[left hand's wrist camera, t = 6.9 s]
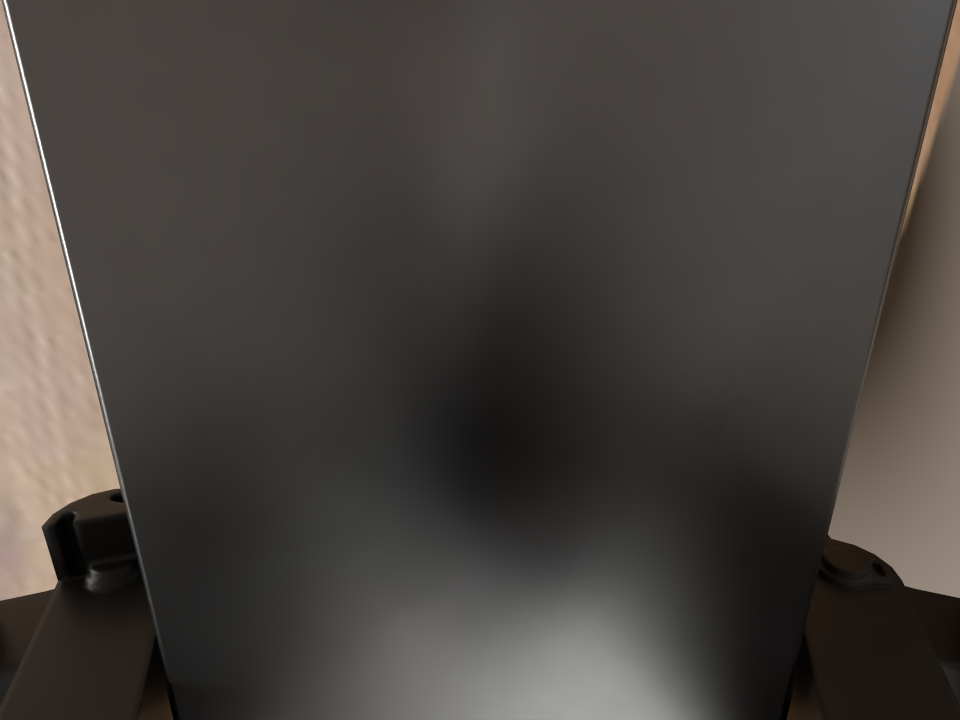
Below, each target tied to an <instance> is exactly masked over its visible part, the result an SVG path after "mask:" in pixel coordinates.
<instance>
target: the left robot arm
mask: <svg viewBox="0 0 960 720" xmlns="http://www.w3.org/2000/svg"><path fill="white" fill-rule="evenodd" d="M42 530H43V533H44V536H45V539H46V543H47V546H48V549H49V552H50V556H51V559H52V562H53V566H54V569H55V572H56V575H57V579H58V583H57V585H56V587H55V589H53V590H49V591H45V592H41V593H36V594H31V595H26V596H22V597H17V598H12V599H7V600H2V601H0V720H177V718H176V714H175V710H174V706H173V702H172V698H171V693H170V689H169V685H168V681H167V677H166V673H165V669H164V665H163V661H162V656H161V652H160V648H159V644H158V640H157V636H156V632H155V628H154V624H153V620H152V615H151V611H150V607H149V603H148V599H147V595H146V591H145V587H144V583H143V578H142V574H141V570H140V566H139V562H138V558H137V554H136V550H135V546H134V542H133V537H132V533H131V529H130V525H129V521H128V517H127V513H126V509H125V505H124V500H123V496H122V492H121V489H113V490H109V491H104V492H100V493H96V494H92V495H89V496H87V497H85V498H82V499H80V500H77V501H75V502H72V503H70V504H69V505H67V506H65V507H64V508H62V509H61V510H59V511H57V512H56V513H54V514H53V515H52V516H51V517H50V518H49V519H48V520H47V521H46V523H45V524H44V525H43V526H42ZM783 720H960V598H956V597H951V596H947V595H942V594H937V593H932V592H927V591H922V590H918V589H913V588H910V587H906V586H904V584H903V582H902V580H901V579H900V577H899V576H898V575H897V573H896V572H895V571H894V569H893V568H892V567H891V566H889V565H888V564H887V563H886V562H884V561H883V560H881V559H880V558H879V557H877V556H876V555H875V554H872V553H870V552H868V551H866V550H864V549H862V548H860V547H858V546H855V545H852V544H849V543H845V542H841V541H837V540H834V539H831V538H830V537H829V536H828V535H827V539H826V543H825V547H824V551H823V555H822V559H821V563H820V568H819V572H818V576H817V580H816V584H815V588H814V592H813V596H812V600H811V605H810V609H809V613H808V617H807V621H806V625H805V629H804V633H803V637H802V642H801V646H800V650H799V654H798V658H797V662H796V666H795V670H794V674H793V679H792V683H791V687H790V691H789V695H788V699H787V703H786V707H785V712H784V716H783Z"/></svg>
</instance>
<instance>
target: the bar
mask: <svg viewBox="0 0 960 720" xmlns="http://www.w3.org/2000/svg"><path fill="white" fill-rule="evenodd" d="M2 4H3V8H4V12H5V16H6V20H7V24H8V28H9V32H10V36H11V40H12V45H13V49H14V53H15V57H16V61H17V65H18V69H19V73H20V77H21V82H22V86H23V90H24V94H25V98H26V102H27V106H28V110H29V114H30V119H31V123H32V127H33V131H34V135H35V139H36V143H37V147H38V151H39V155H40V160H41V164H42V168H43V172H44V176H45V180H46V184H47V188H48V192H49V197H50V201H51V205H52V209H53V213H54V217H55V221H56V225H57V229H58V233H59V238H60V242H61V246H62V250H63V254H64V258H65V262H66V266H67V270H68V275H69V279H70V283H71V287H72V291H73V295H74V299H75V303H76V307H77V312H78V316H79V320H80V324H81V328H82V332H83V336H84V340H85V344H86V348H87V353H88V357H89V361H90V365H91V369H92V373H93V377H94V381H95V385H96V390H97V394H98V398H99V402H100V406H101V410H102V414H103V418H104V422H105V427H106V431H107V435H108V439H109V443H110V447H111V451H112V455H113V459H114V463H115V468H116V472H117V476H118V480H119V484H120V488H121V492H122V496H123V500H124V505H125V509H126V513H127V517H128V521H129V525H130V529H131V533H132V537H133V542H134V546H135V550H136V554H137V558H138V562H139V566H140V570H141V574H142V578H143V583H144V587H145V591H146V595H147V599H148V603H149V607H150V611H151V615H152V620H153V624H154V628H155V632H156V636H157V640H158V644H159V648H160V652H161V656H162V661H163V665H164V669H165V673H166V677H167V681H168V685H169V689H170V693H171V698H172V702H173V706H174V710H175V714H176V718H177V720H783V716H784V712H785V707H786V703H787V699H788V695H789V691H790V687H791V683H792V679H793V674H794V670H795V666H796V662H797V658H798V654H799V650H800V646H801V642H802V637H803V633H804V629H805V625H806V621H807V617H808V613H809V609H810V605H811V600H812V596H813V592H814V588H815V584H816V580H817V576H818V572H819V568H820V563H821V559H822V555H823V551H824V547H825V543H826V539H827V535H828V530H829V526H830V522H831V518H832V514H833V510H834V506H835V502H836V498H837V493H838V489H839V485H840V481H841V477H842V473H843V468H844V465H845V461H846V456H847V452H848V448H849V444H850V440H851V436H852V432H853V428H854V424H855V419H856V415H857V411H858V407H859V403H860V399H861V395H862V391H863V386H864V382H865V378H866V374H867V370H868V366H869V362H870V358H871V353H872V349H873V345H874V341H875V337H876V333H877V329H878V325H879V321H880V316H881V312H882V308H883V304H884V300H885V296H886V292H887V288H888V284H889V279H890V275H891V271H892V267H893V263H894V259H895V255H896V251H897V247H898V242H899V238H900V234H901V230H902V226H903V222H904V218H905V214H906V210H907V205H908V201H909V197H910V193H911V189H912V185H913V181H914V177H915V173H916V168H917V164H918V160H919V156H920V152H921V148H922V144H923V140H924V136H925V131H926V127H927V123H928V119H929V115H930V111H931V107H932V103H933V98H934V94H935V90H936V86H937V82H938V78H939V74H940V70H941V66H942V61H943V57H944V53H945V49H946V45H947V41H948V37H949V33H950V29H951V24H952V20H953V16H954V12H955V8H956V4H957V0H2Z"/></svg>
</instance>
